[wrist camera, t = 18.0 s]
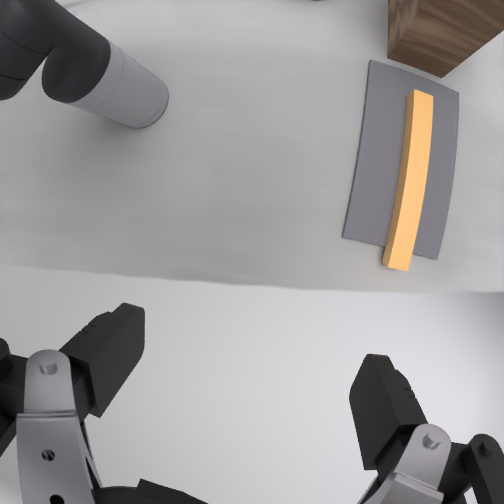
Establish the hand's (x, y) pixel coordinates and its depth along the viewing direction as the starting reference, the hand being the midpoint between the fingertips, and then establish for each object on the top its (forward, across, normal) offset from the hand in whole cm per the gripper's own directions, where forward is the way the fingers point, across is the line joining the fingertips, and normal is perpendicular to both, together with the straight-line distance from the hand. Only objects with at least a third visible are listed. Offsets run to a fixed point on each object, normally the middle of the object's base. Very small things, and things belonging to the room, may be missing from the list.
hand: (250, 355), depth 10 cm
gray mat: (+34, -18, -13) cm, 41 cm away
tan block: (+33, -18, -10) cm, 39 cm away
